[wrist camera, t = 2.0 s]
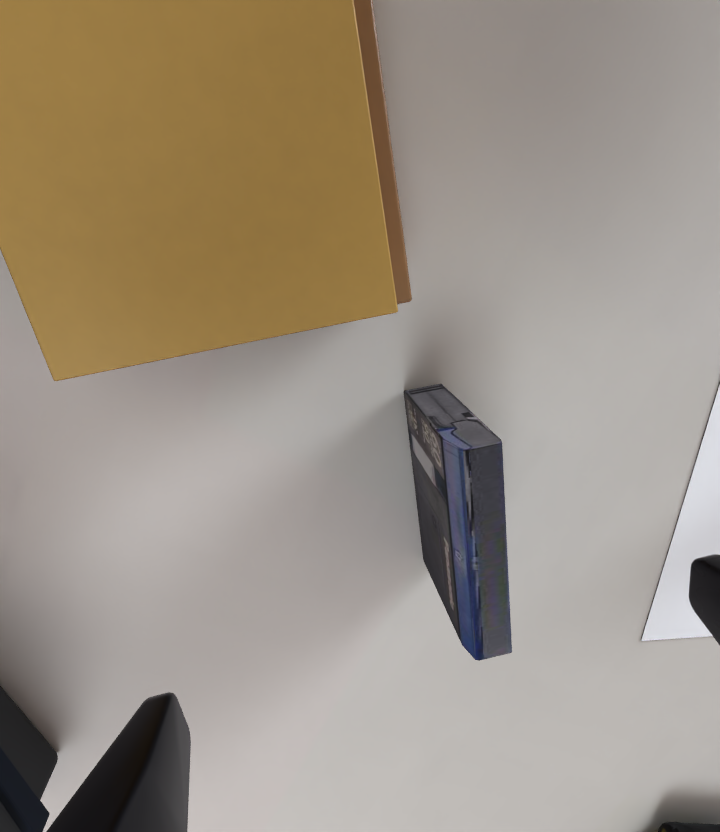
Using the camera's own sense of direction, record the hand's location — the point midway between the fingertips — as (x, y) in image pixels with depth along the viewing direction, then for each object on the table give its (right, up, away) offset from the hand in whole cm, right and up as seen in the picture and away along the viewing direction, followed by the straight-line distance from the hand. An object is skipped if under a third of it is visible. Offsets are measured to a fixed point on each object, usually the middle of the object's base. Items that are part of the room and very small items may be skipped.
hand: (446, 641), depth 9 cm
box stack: (-6, +12, +8) cm, 16 cm away
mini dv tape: (+2, +1, +14) cm, 14 cm away
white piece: (+24, +1, +17) cm, 29 cm away
